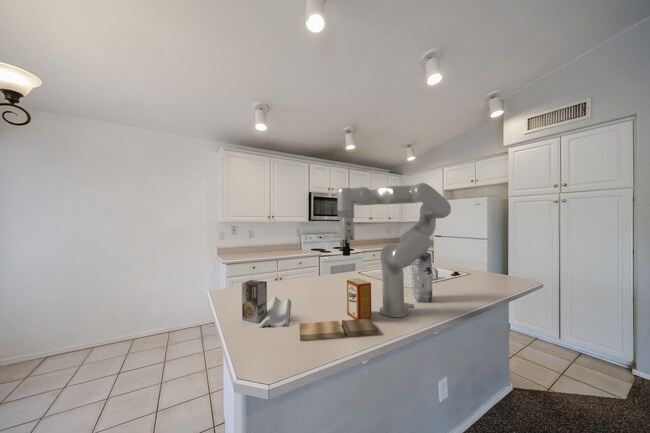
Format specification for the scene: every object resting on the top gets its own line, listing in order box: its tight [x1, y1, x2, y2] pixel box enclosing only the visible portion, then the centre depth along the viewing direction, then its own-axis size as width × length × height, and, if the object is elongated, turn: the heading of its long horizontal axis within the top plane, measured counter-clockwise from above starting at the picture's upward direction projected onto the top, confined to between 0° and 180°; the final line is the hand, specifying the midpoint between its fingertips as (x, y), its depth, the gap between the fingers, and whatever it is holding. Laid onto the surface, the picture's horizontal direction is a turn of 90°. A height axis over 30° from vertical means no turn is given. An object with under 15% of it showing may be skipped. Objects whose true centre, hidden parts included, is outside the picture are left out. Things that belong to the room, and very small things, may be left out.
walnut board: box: [341, 319, 379, 338], centre depth 93 cm, size 12×10×2 cm
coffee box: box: [241, 279, 268, 324], centre depth 105 cm, size 9×6×16 cm
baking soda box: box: [346, 278, 373, 320], centre depth 107 cm, size 10×6×16 cm
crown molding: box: [258, 296, 291, 329], centre depth 112 cm, size 31×12×4 cm, turn 7°
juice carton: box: [411, 249, 433, 303], centre depth 129 cm, size 9×10×27 cm
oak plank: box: [298, 320, 345, 342], centre depth 91 cm, size 16×10×2 cm, turn 98°
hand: (346, 255), depth 109 cm, fingers closed
